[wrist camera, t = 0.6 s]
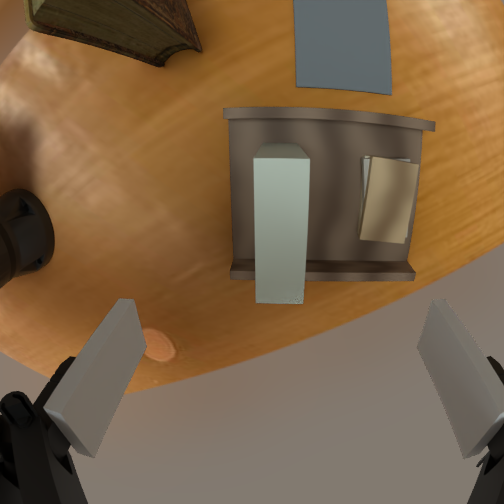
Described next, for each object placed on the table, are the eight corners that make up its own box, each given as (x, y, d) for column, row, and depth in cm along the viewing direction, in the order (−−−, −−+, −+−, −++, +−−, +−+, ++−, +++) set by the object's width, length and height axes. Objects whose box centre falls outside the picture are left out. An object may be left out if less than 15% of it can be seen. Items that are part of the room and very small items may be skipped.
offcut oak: (358, 236, 37) (359, 239, 36) (370, 155, 33) (372, 156, 32) (401, 240, 37) (403, 243, 36) (415, 163, 32) (418, 164, 32)
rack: (235, 261, 44) (230, 279, 39) (230, 109, 35) (223, 108, 31) (401, 264, 42) (413, 280, 37) (417, 120, 33) (435, 121, 29)
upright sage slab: (263, 237, 40) (255, 303, 26) (263, 142, 35) (253, 158, 22) (295, 238, 40) (302, 303, 26) (297, 143, 35) (309, 159, 21)
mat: (296, 87, 33) (296, 86, 33) (291, -35, 26) (291, -36, 26) (390, 95, 32) (391, 95, 32) (381, -24, 25) (382, -25, 25)
